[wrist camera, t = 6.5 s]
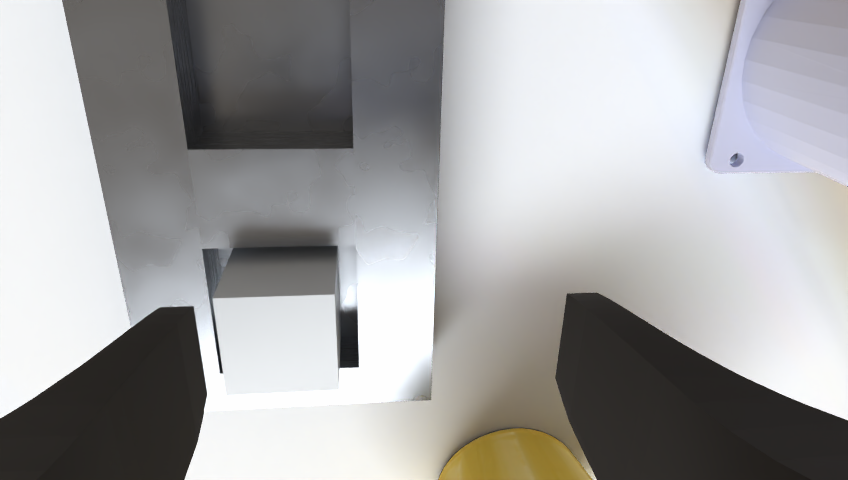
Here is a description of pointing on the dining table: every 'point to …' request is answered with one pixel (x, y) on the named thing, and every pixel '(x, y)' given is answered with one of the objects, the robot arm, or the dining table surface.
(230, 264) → the white cube
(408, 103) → the grey slotted board
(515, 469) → the plant pot
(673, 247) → the dining table surface
